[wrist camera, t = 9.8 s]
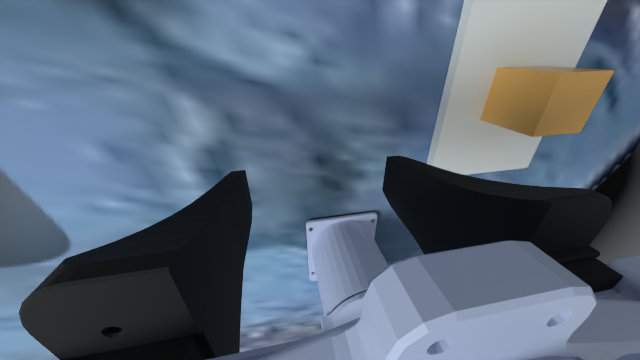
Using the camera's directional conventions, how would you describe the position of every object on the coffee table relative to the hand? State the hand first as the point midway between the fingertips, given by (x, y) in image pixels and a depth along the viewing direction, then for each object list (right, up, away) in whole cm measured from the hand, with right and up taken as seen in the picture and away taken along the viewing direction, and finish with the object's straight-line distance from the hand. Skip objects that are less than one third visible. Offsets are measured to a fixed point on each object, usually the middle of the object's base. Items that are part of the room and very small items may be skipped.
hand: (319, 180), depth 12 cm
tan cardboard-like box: (+17, +8, +9) cm, 21 cm away
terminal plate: (+17, +8, +10) cm, 21 cm away
